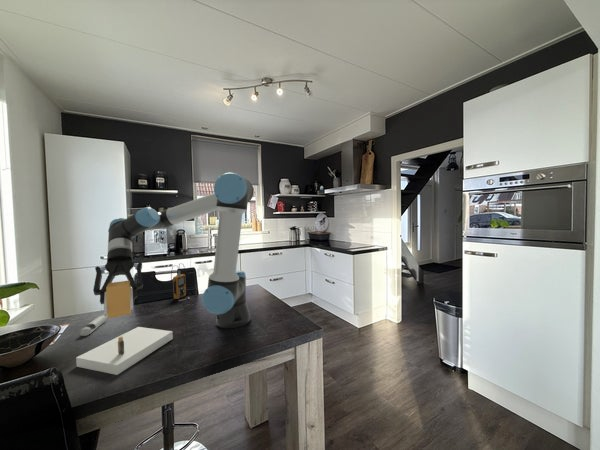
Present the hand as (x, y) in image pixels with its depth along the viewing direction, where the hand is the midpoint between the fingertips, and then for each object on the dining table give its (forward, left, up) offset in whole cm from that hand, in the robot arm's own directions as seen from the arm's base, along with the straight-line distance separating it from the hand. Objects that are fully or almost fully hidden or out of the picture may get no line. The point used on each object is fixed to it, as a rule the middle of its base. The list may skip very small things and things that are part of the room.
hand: (118, 309), depth 77 cm
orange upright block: (+3, -2, -2) cm, 4 cm away
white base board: (+5, -7, -18) cm, 20 cm away
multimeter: (+26, -60, -19) cm, 68 cm away
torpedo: (+37, -18, -19) cm, 46 cm away
